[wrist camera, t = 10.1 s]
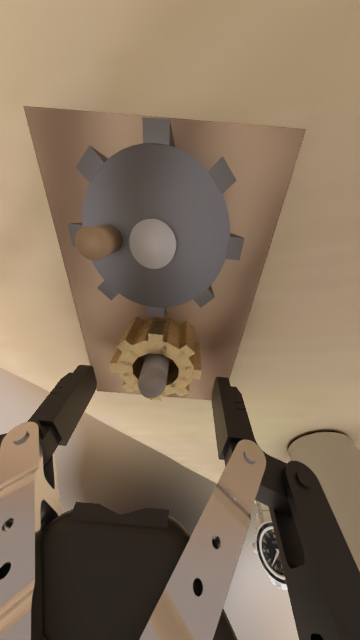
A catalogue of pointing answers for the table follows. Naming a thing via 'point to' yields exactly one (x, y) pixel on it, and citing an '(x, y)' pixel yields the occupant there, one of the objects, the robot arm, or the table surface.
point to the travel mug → (335, 478)
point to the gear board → (245, 217)
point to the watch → (268, 547)
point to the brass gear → (158, 340)
